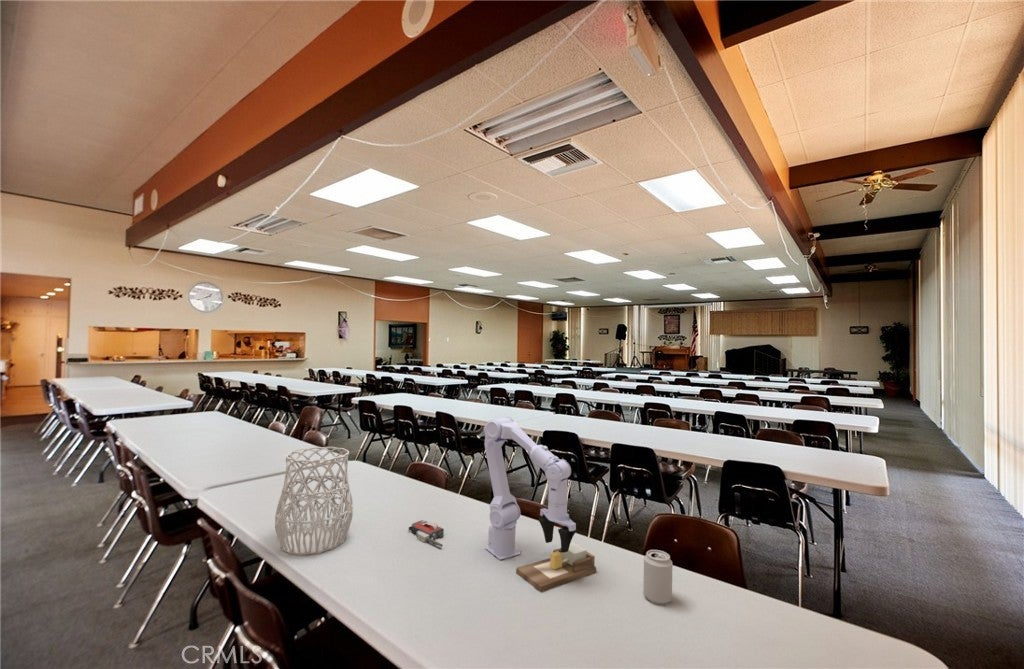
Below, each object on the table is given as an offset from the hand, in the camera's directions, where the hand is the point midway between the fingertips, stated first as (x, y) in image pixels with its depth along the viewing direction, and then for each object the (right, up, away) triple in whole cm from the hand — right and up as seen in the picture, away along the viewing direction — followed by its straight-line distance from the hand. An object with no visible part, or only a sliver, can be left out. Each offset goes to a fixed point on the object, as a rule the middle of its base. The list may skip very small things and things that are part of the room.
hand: (556, 546), depth 132 cm
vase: (-81, -6, +16) cm, 83 cm away
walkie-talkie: (-43, -8, +22) cm, 49 cm away
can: (+27, -8, -12) cm, 30 cm away
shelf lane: (-1, -8, -1) cm, 8 cm away
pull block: (+3, -6, +2) cm, 7 cm away
